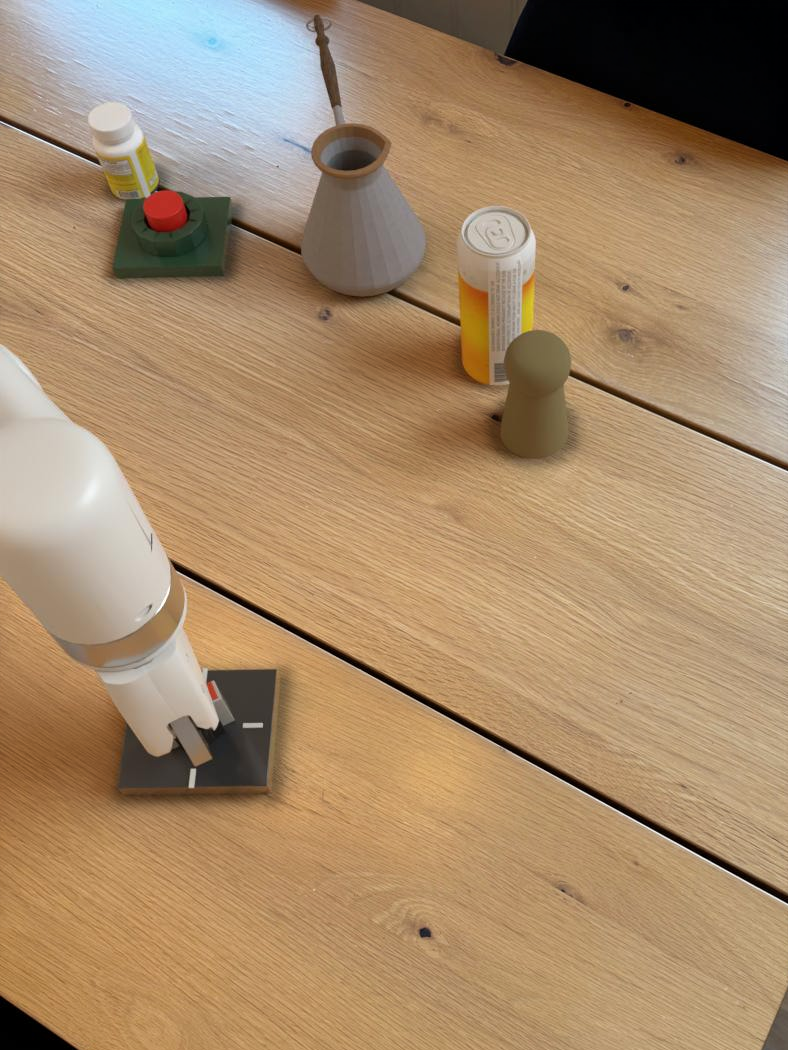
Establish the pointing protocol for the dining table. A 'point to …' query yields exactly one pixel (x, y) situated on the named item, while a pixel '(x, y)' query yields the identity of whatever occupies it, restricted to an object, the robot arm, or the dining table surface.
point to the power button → (165, 211)
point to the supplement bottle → (122, 152)
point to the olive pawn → (536, 395)
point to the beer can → (494, 288)
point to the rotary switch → (215, 745)
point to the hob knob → (216, 707)
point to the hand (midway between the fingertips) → (197, 724)
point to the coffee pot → (357, 205)
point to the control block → (175, 241)
